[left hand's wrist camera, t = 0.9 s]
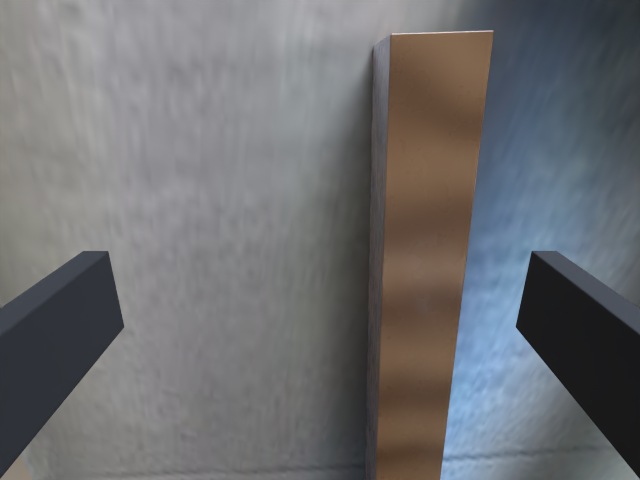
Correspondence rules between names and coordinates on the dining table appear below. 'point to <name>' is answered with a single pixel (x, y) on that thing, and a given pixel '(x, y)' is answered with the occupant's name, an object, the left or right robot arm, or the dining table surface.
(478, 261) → the dining table surface
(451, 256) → the beam
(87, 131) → the dining table surface
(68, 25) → the dining table surface
